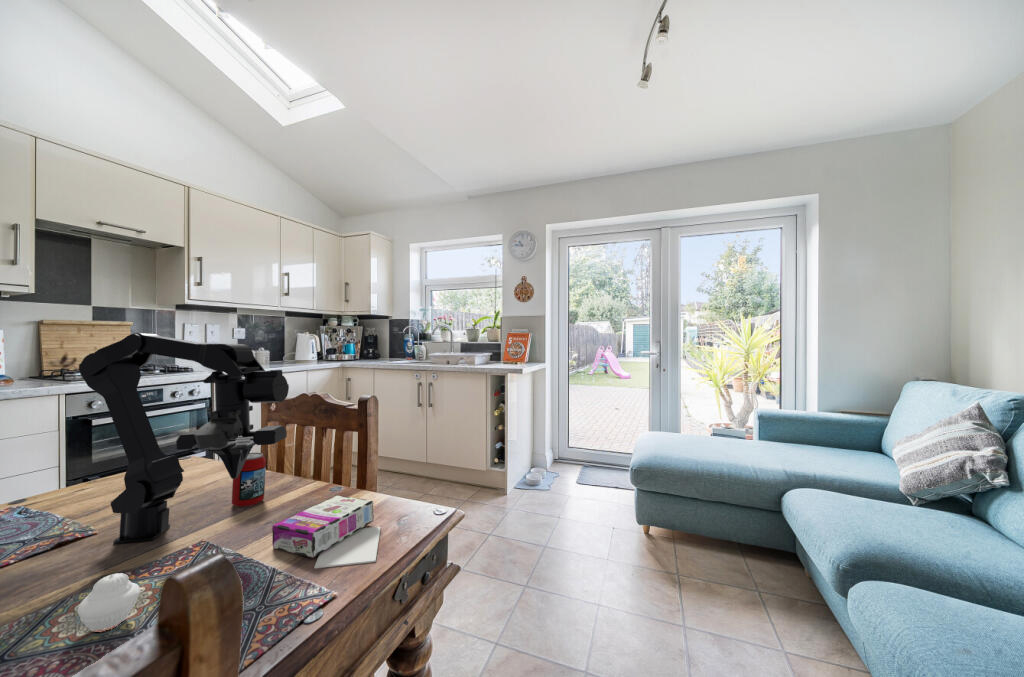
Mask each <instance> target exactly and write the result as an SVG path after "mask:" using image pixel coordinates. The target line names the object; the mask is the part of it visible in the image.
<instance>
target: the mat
mask: <svg viewBox="0 0 1024 677" xmlns="http://www.w3.org/2000/svg"><path fill="white" fill-rule="evenodd" d="M381 529H382V528H381V526H372V527H363V528H361V529H360V530H358V531H356V532H355V533H353V534H351V535H350V536H348V537H346V538H345V539H343V540H341V541H340V542H338V543H336V544H335V545H333V546H331V547H330V548H328V549H326V550H325V551H323V552H322V553H320V554H318V557H317V559H316V562H315V564H314V569H322V568H323V569H324V568H331V567H332V568H333V567H343V566H350V565H361V564H369V563H376V562H377V554H378V549H379V540H380V535H381Z"/></svg>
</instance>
